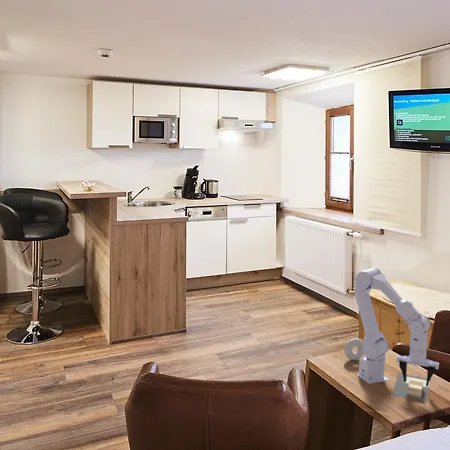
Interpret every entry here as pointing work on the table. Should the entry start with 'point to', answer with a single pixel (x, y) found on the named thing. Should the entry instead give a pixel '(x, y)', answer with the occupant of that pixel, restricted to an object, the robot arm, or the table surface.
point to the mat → (402, 388)
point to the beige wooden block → (415, 387)
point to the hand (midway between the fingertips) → (416, 383)
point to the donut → (349, 347)
